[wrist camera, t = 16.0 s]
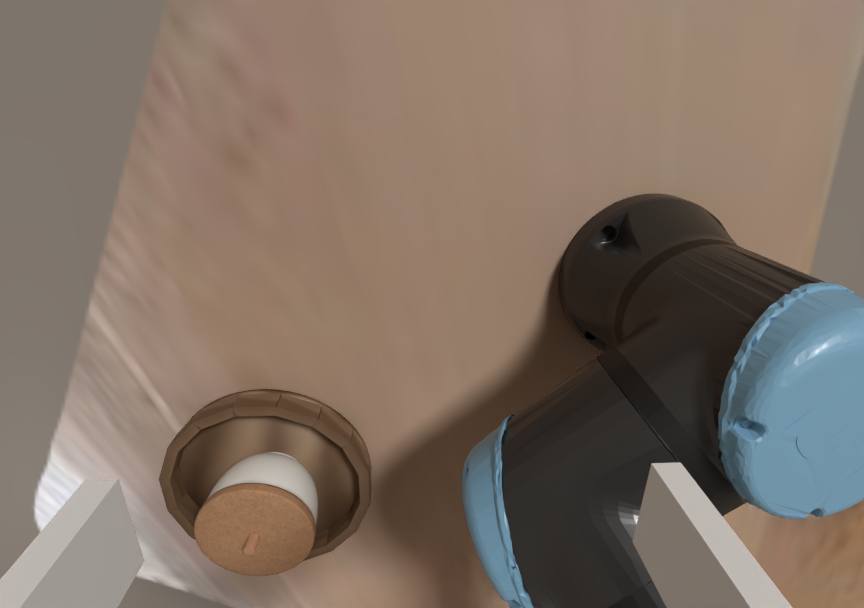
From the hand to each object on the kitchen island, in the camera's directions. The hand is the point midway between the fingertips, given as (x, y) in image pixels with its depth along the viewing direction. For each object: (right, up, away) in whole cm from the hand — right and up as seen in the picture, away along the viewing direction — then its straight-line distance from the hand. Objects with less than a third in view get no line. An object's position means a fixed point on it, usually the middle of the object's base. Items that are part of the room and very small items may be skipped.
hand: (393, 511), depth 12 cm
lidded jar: (-16, -13, +38) cm, 43 cm away
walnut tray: (-16, -13, +39) cm, 44 cm away
